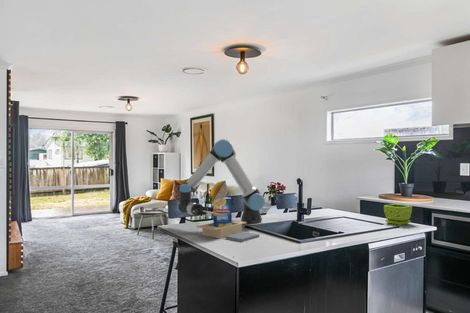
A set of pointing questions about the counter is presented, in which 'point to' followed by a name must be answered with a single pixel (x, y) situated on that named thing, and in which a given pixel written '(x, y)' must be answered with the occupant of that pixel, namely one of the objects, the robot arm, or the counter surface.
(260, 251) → the counter surface
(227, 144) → the robot arm
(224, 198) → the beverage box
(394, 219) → the flower pot
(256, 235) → the mat
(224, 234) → the wooden tray
